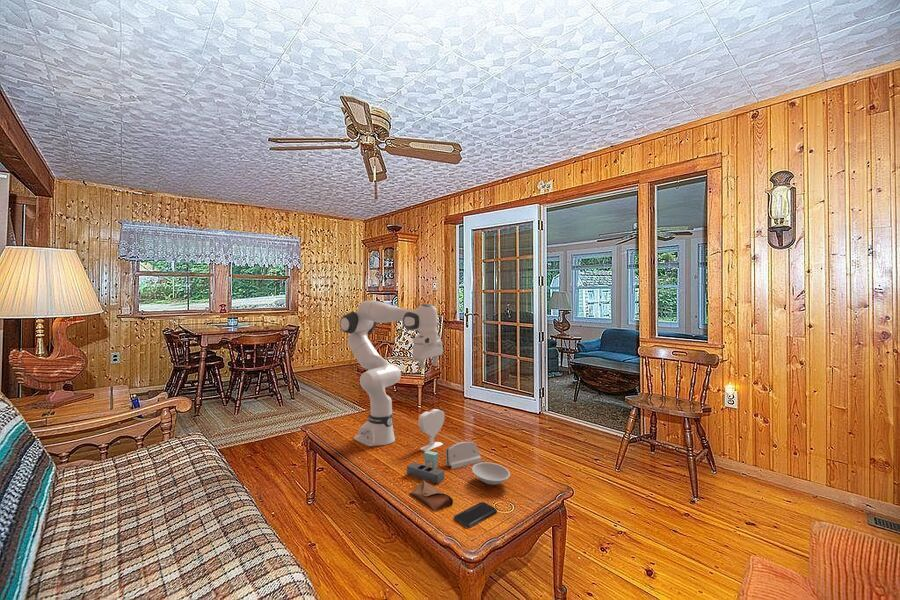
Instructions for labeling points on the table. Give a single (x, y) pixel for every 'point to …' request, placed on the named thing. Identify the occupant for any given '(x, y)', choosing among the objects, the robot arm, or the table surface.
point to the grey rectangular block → (425, 472)
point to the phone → (475, 514)
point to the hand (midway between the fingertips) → (428, 366)
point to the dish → (491, 473)
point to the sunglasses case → (431, 496)
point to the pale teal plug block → (431, 458)
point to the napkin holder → (462, 454)
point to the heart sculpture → (431, 426)
